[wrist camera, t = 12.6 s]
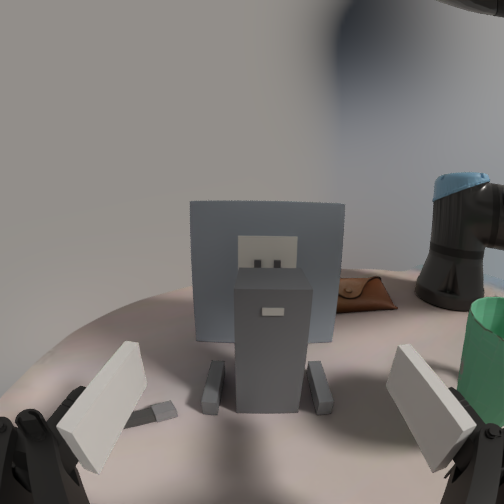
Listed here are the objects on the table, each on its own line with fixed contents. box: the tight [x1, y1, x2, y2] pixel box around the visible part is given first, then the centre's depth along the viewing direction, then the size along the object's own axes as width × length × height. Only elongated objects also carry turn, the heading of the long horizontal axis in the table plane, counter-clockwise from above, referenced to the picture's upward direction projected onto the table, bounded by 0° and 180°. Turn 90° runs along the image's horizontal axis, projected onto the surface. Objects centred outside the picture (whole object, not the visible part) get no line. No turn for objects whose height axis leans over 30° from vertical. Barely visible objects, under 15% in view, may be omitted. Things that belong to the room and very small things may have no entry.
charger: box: [234, 267, 313, 413], centre depth 21 cm, size 5×6×11 cm
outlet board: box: [190, 201, 345, 415], centre depth 24 cm, size 16×14×16 cm
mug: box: [457, 297, 504, 427], centre depth 14 cm, size 15×10×10 cm
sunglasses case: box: [336, 276, 398, 314], centre depth 42 cm, size 18×7×7 cm
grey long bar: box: [123, 401, 178, 429], centre depth 16 cm, size 12×1×1 cm, turn 124°
